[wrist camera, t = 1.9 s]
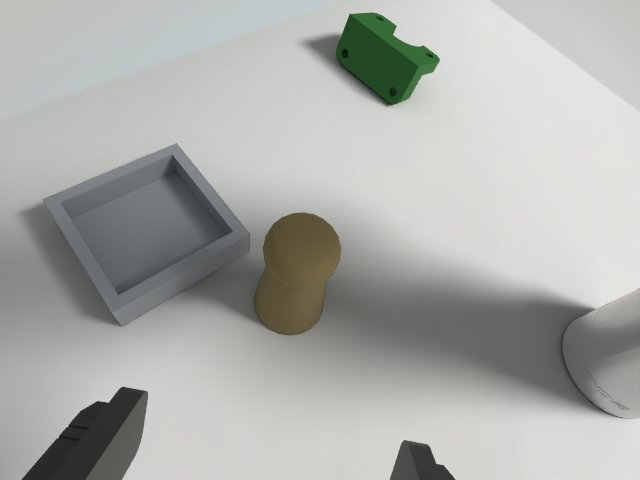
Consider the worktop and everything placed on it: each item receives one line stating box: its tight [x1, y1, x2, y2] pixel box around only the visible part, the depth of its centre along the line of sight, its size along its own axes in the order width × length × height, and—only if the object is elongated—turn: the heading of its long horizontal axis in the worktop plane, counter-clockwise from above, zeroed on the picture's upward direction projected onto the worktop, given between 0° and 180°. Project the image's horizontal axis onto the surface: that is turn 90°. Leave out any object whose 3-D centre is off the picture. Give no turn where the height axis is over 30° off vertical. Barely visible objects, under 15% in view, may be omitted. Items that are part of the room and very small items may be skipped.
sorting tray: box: [43, 143, 250, 326], centre depth 35 cm, size 12×12×3 cm
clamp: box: [336, 13, 440, 104], centre depth 51 cm, size 12×6×9 cm, turn 38°
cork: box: [254, 213, 341, 335], centre depth 31 cm, size 6×6×11 cm
